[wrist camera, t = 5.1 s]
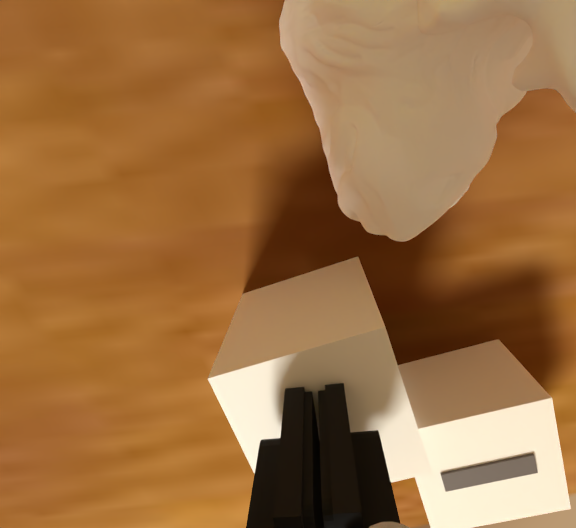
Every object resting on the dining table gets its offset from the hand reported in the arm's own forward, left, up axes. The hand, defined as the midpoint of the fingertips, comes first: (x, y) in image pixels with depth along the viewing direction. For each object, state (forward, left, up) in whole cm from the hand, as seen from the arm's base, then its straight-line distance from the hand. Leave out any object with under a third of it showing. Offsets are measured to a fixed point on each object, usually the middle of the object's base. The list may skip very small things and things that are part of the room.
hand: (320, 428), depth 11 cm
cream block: (0, 0, -6) cm, 6 cm away
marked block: (-7, +1, -6) cm, 9 cm away
